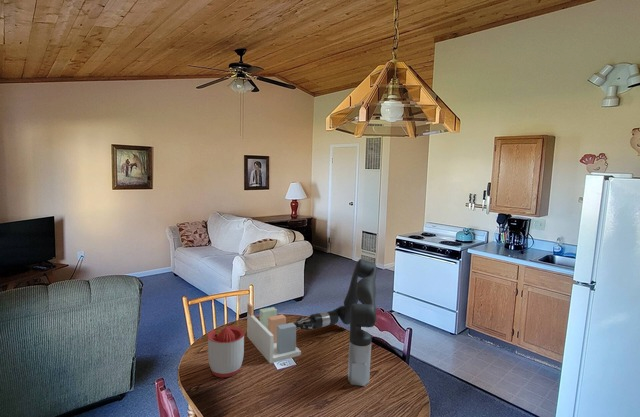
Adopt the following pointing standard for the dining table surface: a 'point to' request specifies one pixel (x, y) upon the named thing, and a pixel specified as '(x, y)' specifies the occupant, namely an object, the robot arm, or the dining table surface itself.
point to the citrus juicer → (226, 351)
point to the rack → (265, 339)
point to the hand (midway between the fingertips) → (290, 326)
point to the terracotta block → (275, 324)
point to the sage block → (267, 315)
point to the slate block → (286, 338)
